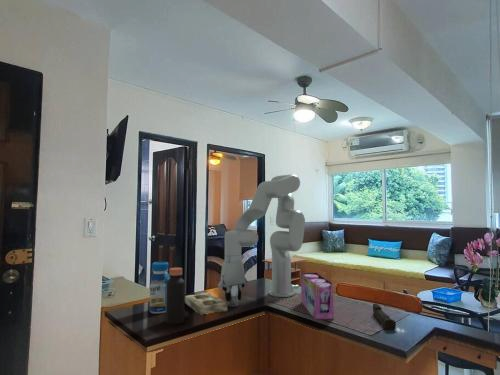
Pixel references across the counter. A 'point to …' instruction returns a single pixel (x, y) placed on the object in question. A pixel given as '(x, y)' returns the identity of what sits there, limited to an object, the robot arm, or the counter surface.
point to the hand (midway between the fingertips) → (233, 299)
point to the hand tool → (383, 318)
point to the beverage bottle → (158, 287)
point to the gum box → (317, 295)
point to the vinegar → (175, 297)
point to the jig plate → (205, 303)
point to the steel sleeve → (233, 296)
